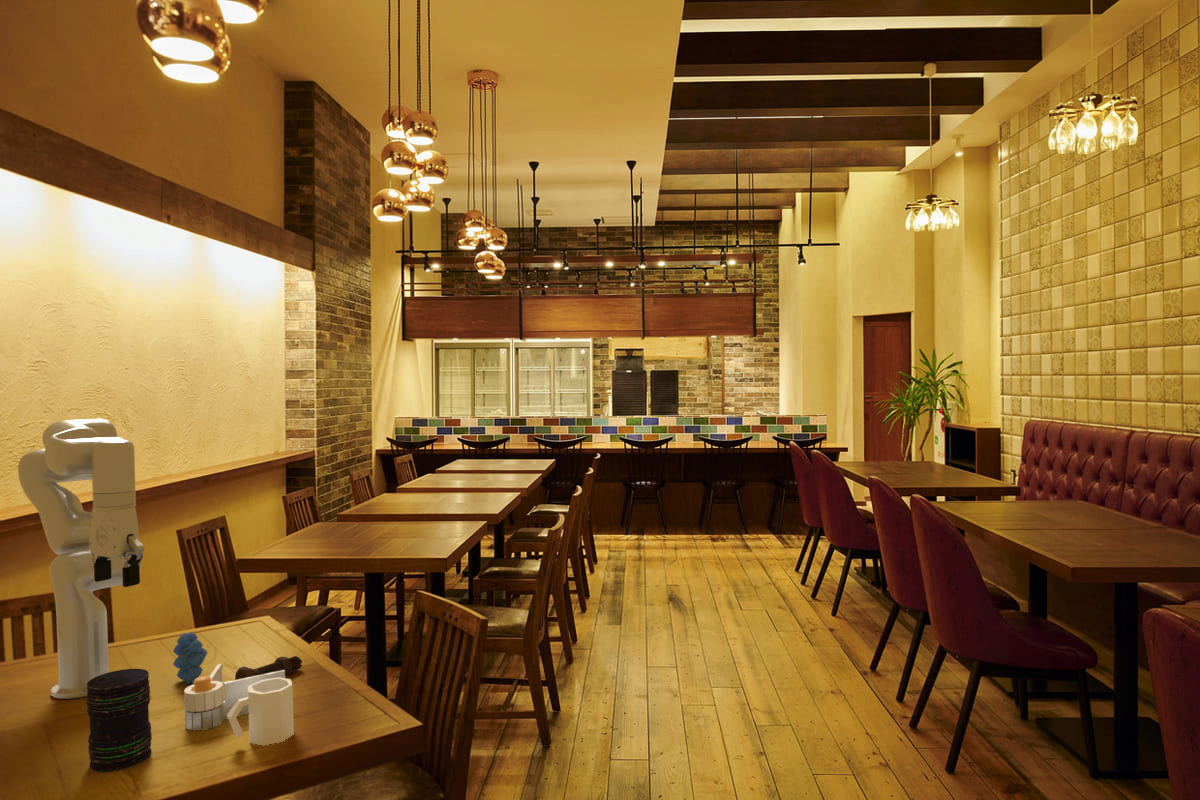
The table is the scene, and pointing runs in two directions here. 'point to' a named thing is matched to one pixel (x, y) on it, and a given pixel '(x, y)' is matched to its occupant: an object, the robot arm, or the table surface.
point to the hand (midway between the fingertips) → (117, 582)
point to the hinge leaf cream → (206, 694)
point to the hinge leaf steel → (226, 702)
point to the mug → (266, 711)
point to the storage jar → (119, 720)
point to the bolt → (271, 667)
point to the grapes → (189, 657)
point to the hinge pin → (202, 684)
